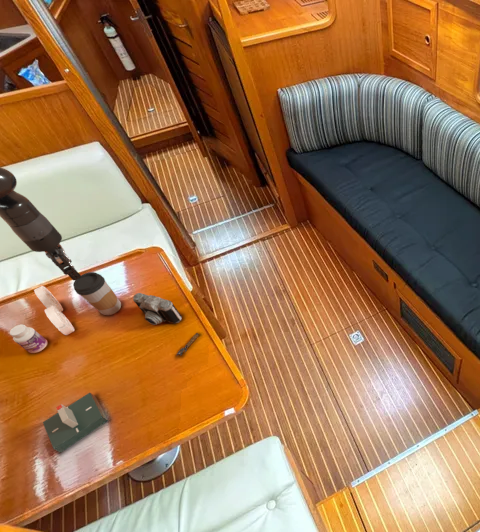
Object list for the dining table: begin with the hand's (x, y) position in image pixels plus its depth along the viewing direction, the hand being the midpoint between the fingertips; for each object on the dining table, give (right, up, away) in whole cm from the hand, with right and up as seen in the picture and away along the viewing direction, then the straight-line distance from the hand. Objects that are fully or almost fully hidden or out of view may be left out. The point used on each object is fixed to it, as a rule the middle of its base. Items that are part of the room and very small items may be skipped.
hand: (72, 270), depth 117 cm
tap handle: (+8, -41, -10) cm, 43 cm away
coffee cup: (-2, -13, +19) cm, 23 cm away
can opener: (+30, -24, +9) cm, 40 cm away
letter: (-16, -17, +16) cm, 28 cm away
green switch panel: (+8, -43, -8) cm, 44 cm away
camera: (+16, -17, +16) cm, 28 cm away
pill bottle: (-18, -25, +9) cm, 32 cm away
